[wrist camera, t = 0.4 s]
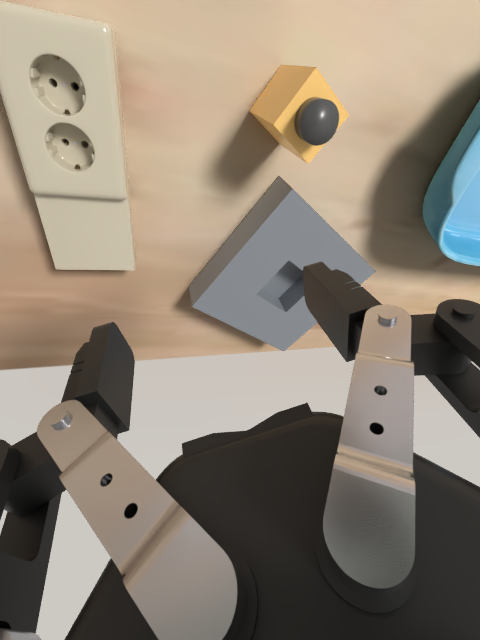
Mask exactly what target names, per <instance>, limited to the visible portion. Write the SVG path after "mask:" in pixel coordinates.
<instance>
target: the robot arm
mask: <svg viewBox="0 0 480 640" xmlns="http://www.w3.org/2000/svg"><path fill="white" fill-rule="evenodd" d="M303 283H304V297H305V302H306V305H307V308H308V310H309V311H310V313H311V314H312V315H313V317H314V318H315V319H316V321H317V322H318V324H319V325H320V326H321V328H322V329H323V330H324V332H325V333H326V335H327V336H328V337H329V339H330V340H331V341H332V343H333V344H334V345H335V347H336V348H337V350H338V351H339V352H340V354H341V355H342V356H343V358H344V359H345V360H346V362H348V361H352V360H355V363H354V368H353V373H352V378H351V383H350V388H349V394H348V399H347V404H346V409H345V414H344V417H343V416H341V415H337V414H333V413H327V412H312V411H311V410H310V407H309V405H308V403H305V404H302V405H299V406H296V407H293V408H290V409H287V410H284V411H281V412H278V413H276V414H274V415H272V416H271V417H269V418H268V419H266V420H264V421H263V422H261V423H259V424H258V425H256V426H255V427H253V428H251V429H250V430H247V431H238V432H224V433H213V434H210V435H207V436H204V437H200V438H197V439H194V440H191V441H188V442H185V443H183V444H182V450H183V454H182V455H181V456H179V457H178V458H176V459H175V460H174V461H173V462H172V463H171V464H169V465H168V466H167V467H166V468H165V469H164V471H163V472H162V473H161V474H160V475H159V476H158V478H157V479H156V480H155V479H154V478H153V477H152V476H151V475H150V474H149V473H148V472H147V471H146V470H145V469H144V468H143V467H142V465H141V464H140V463H139V462H137V460H136V459H135V458H134V457H133V456H132V455H131V454H130V453H129V452H128V451H127V450H126V449H125V448H124V447H123V446H122V445H121V444H120V443H119V442H118V441H117V435H118V434H119V433H122V432H125V431H128V430H129V426H130V413H131V401H132V388H133V376H134V363H135V361H134V356H133V352H132V350H131V348H130V346H129V345H128V343H127V341H126V340H125V338H124V337H123V335H122V333H121V332H120V330H119V328H118V327H117V325H116V324H115V323H114V322H111V323H108V324H105V325H101V326H98V327H94V328H93V330H92V334H91V337H90V341H89V342H87V343H84V344H83V346H82V347H81V348H80V350H79V351H78V352H77V354H76V357H75V360H74V363H73V365H74V366H72V370H71V374H70V376H69V379H68V382H67V385H66V388H65V392H64V395H63V398H62V401H61V403H60V404H58V405H56V406H55V407H53V408H52V409H51V410H50V411H48V412H47V413H46V414H45V416H44V417H43V418H42V420H41V421H40V423H39V425H38V428H37V432H36V433H33V434H32V435H30V436H28V437H26V438H25V439H23V440H21V441H19V442H18V443H16V444H14V445H12V446H11V445H10V444H8V443H7V442H6V441H4V440H0V519H1V516H2V513H3V510H4V509H5V510H6V511H8V512H7V515H6V519H5V522H4V525H3V528H2V531H1V535H0V640H41V639H40V637H39V636H38V635H36V634H35V633H36V628H37V622H38V617H39V611H40V606H41V601H42V595H43V590H44V585H45V579H46V574H47V568H48V563H49V558H50V552H51V547H52V541H53V536H54V531H55V525H56V520H57V515H58V509H59V504H60V498H61V493H62V492H63V491H65V490H67V491H68V492H69V494H70V495H71V497H72V498H73V500H74V502H75V503H76V505H77V506H78V508H79V509H80V511H81V512H82V514H83V515H84V517H85V518H86V520H87V522H88V523H89V525H90V526H91V528H92V529H93V531H94V532H95V534H96V535H97V537H98V538H99V540H100V541H101V543H102V544H103V546H104V548H105V549H106V550H107V552H108V554H109V555H110V557H111V559H110V561H109V562H108V564H107V566H106V568H105V569H104V571H103V573H102V575H101V576H100V578H99V580H98V582H97V584H96V585H95V587H94V589H93V591H92V592H91V594H90V596H89V598H88V599H87V601H86V603H85V605H84V607H83V608H82V610H81V612H80V614H79V615H78V617H77V619H76V620H75V622H74V624H73V626H72V628H71V630H70V631H69V633H68V635H67V636H66V638H65V640H480V487H479V486H476V485H475V484H473V483H471V482H469V481H467V480H465V479H463V478H461V477H459V476H458V475H456V474H454V473H452V472H450V471H448V470H446V469H444V468H442V467H440V466H438V465H436V464H435V463H433V462H431V461H429V460H427V459H425V458H423V457H421V456H419V455H418V454H416V453H414V452H413V412H414V411H413V410H414V405H413V404H414V375H425V376H426V377H427V378H428V379H429V381H430V382H431V383H432V384H433V385H434V386H435V387H436V389H437V390H438V391H439V392H440V393H441V394H442V395H443V397H444V398H445V399H446V400H447V401H448V402H449V403H450V404H451V406H452V407H453V408H454V409H455V410H456V411H457V412H458V413H459V415H460V416H461V417H462V418H463V419H464V420H465V422H466V423H467V424H468V425H469V426H470V427H471V428H472V429H473V431H474V432H475V433H476V434H477V435H478V436H479V437H480V370H479V369H478V368H477V367H475V366H474V365H473V364H472V363H471V361H473V362H474V363H475V364H476V365H477V366H478V367H479V368H480V304H478V303H475V302H472V301H468V300H462V299H452V300H447V301H444V302H442V303H440V304H439V305H438V307H437V310H436V314H423V315H410V314H409V313H408V312H407V311H405V310H404V309H402V308H400V307H397V306H393V305H382V304H381V303H380V302H379V301H377V300H376V299H375V298H374V297H373V296H372V295H371V294H370V293H369V292H367V291H366V290H365V289H364V288H363V287H361V285H360V284H359V283H357V282H355V280H354V279H353V278H352V277H351V276H350V275H349V274H348V273H345V272H342V271H340V270H337V269H335V270H331V269H329V268H328V267H327V266H326V265H325V264H324V263H323V262H322V261H320V262H317V263H314V264H310V265H307V266H304V267H303Z"/></svg>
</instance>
